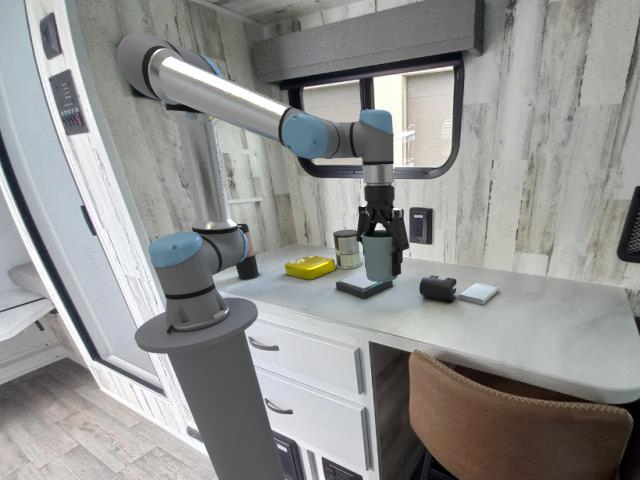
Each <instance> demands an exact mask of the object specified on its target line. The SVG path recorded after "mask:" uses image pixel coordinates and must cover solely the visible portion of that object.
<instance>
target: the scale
mask: <svg viewBox="0 0 640 480" xmlns="http://www.w3.org/2000/svg"><path fill="white" fill-rule="evenodd" d="M393 286H394V280H392V281H389V282H373V281H370V280H368V279H367V275H366V270H365V271H362V272H359V273H356V274H354V275H350V276H348V277H345V278H343V279H340V280H339V281H336V282H335V289H336V290H337V291H341V292H343V293H347V294H349V295H352V296H355V297H359V298H361V299H364V300H365V299H368V298H369V297H371V296H374V295H375V294H378V293H380V292H382V291H384V290H387V289H389V288H392V287H393Z"/></svg>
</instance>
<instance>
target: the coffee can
mask: <svg viewBox="0 0 640 480" xmlns="http://www.w3.org/2000/svg"><path fill="white" fill-rule="evenodd" d="M332 236H333V242H334V250H335V258H336V267H337V268H339V269H342V270H343V269H344V270H349V269H355V268H358V267H360V266H361V265H362V263H361V262H362V261H361V250H360V249H361V248H360V242H357V240H356V238H357V229H341V230H337V231H333V233H332Z"/></svg>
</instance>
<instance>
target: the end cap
mask: <svg viewBox="0 0 640 480" xmlns="http://www.w3.org/2000/svg"><path fill="white" fill-rule="evenodd" d="M457 284H458V283H457V279H456V278H453V277H446V278H445V279H440V278H439V275H433V274H431V275H429V276H428V277H427V276H423V277H422V278H421V280H420V283H419V287H418V288H419V289H418V290H419V294H420V295H421V296H422V297H423V298H428V299H433V300H437V301H444V302H449V303H451V302H452V301H453V300H454V299H455V298H456V292H457V287H455V286H456V285H457Z"/></svg>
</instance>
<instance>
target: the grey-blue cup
mask: <svg viewBox="0 0 640 480" xmlns="http://www.w3.org/2000/svg"><path fill="white" fill-rule="evenodd" d="M361 237H362V241H363V246H362V250H363V249H364V255H363V257H364V264H365V263H366V269H365V272H366V275H367V279H368V280H370V281H373V282H389V281H392V280H393V281H395V280H396V279H397V278H398V276H399V275H397V276H395V277H394V276H392V251H394V249H393V246H392V237H389V236H388V234H387V231H386V229H375V231H374V233H373V235H372V236H370V237H366V232H364V233H362V236H361ZM396 237H397V236H396Z"/></svg>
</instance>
